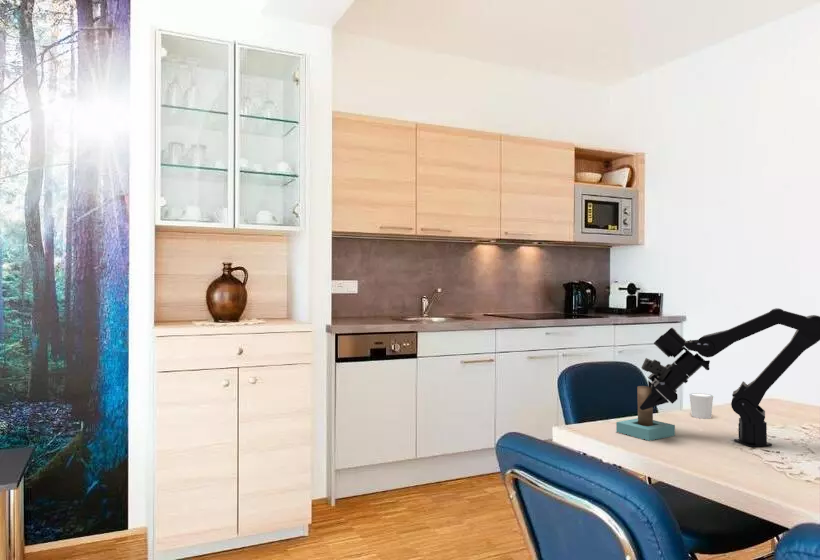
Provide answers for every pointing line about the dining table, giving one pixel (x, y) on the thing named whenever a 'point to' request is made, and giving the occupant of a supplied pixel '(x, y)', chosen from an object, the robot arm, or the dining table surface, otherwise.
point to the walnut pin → (645, 415)
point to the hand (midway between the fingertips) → (640, 407)
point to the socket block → (645, 429)
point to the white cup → (701, 405)
